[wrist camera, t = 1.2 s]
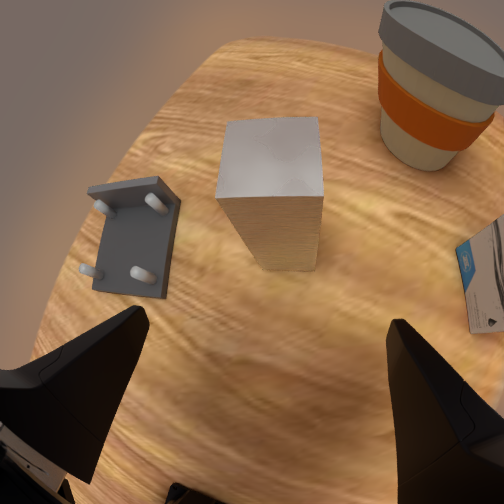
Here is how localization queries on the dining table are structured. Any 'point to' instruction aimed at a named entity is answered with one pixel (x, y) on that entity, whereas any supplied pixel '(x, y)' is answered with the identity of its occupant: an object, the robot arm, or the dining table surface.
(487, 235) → the ink box
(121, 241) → the drive dock
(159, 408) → the dining table surface
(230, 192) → the silver tall square block
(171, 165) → the dining table surface
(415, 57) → the reusable coffee cup
